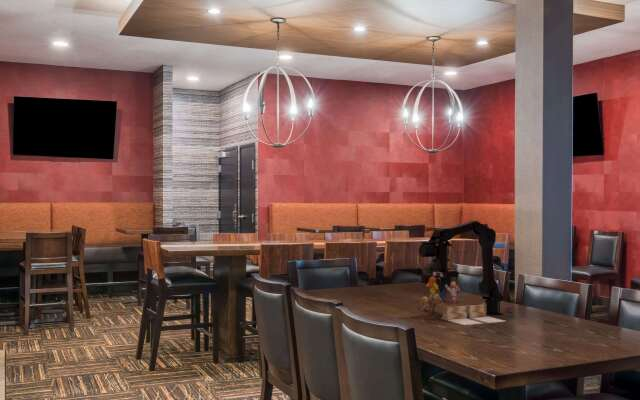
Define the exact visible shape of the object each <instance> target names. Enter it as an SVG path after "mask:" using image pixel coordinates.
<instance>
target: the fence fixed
mask: <svg viewBox="0 0 640 400" xmlns="http://www.w3.org/2000/svg"><path fill="white" fill-rule="evenodd" d="M486 316H487V314H486V303H485V302H481V304H475V305H469V318H474V317H486Z"/></svg>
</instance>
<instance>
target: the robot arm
mask: <svg viewBox="0 0 640 400" xmlns="http://www.w3.org/2000/svg"><path fill="white" fill-rule="evenodd" d="M469 232H472V233H473V234H474V235H475V236H477V237H476V238H477V241H478V244H479V246H480V247H481V259H482V260H481V262H482V280H481V281H480V282H478V291H479V293H480V295H481V298H482V299H483V300H484V303H486V315H491V316H492V315H493V316H494V315H503V312H501V302H503V300H504V295H502V293H501V292H500V291H499V286H498V283H497V281H496V279H495V271H494V268H495V267H494V250H493V249H494V246H495V243H496V240H497V239H496V236H497V233H496V231H495V230H494V229H493V228H490V227H488V226H486V225H485V224H482V223H481V222H479V221H478V220H470V221H467V222H464V223H460V224H457V225H454V226H451V227H437V228H434V229H433V232H432V234H431V236H430V238H429V239H428V241H421V244H420V245H419V248H418V254H419V257H420V258H432V261H431V262H429V263H427V264H424V265H423V266H422V269H423V272H424V274H425V275H431V274H432V275H431V277H434V278H435V279H436V282H437V285H438V288H439V289H438V292H442V291H443V289H444V287H445V285H447V283H448V282H449V280H450V279H451V278H459V271H458V270H455V269H454V270H453V269H450V268H449V263H448V262H450V260H451V259H450V258H449V254H448V253H449V252H448V251H449V247H452V246H453V244H452V243H451V242H450V241H451V240H452V239H453V238H454V237H456V236H458V235H462V234H465V233H469ZM433 257H434V258H433Z"/></svg>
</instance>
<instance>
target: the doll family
mask: <svg viewBox="0 0 640 400" xmlns="http://www.w3.org/2000/svg"><path fill="white" fill-rule="evenodd" d="M425 287H426V288H429V292H430V293H429V294H428V295H429V296H428V298H429V297H430V296H432V295H434V294H438V295H439V297H440V298H441V302H440V303H441V304H447V301H446V300H447V291H448V292H449V302H448V303H449V304H453V303H455V304H457V301H456V300H457V299H458V294H457V292H460V291H461V289H460V288H459V284H457V283H456V281H451V283H450V284H449V285H448V284H446V285H445V287H444V289H443V291H442V292H440V291H439V288H438V285H437V282H436V279H435V278H434V277H432V276H430V277H429V279H428V282H427V284H426V285H425Z"/></svg>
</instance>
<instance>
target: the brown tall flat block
mask: <svg viewBox="0 0 640 400" xmlns="http://www.w3.org/2000/svg"><path fill="white" fill-rule="evenodd" d="M469 306H470V305H469V304H465V305H462V306H442V318H443V319H445V320H444V321H447V319H458V318H469ZM443 319H442V320H443Z"/></svg>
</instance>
